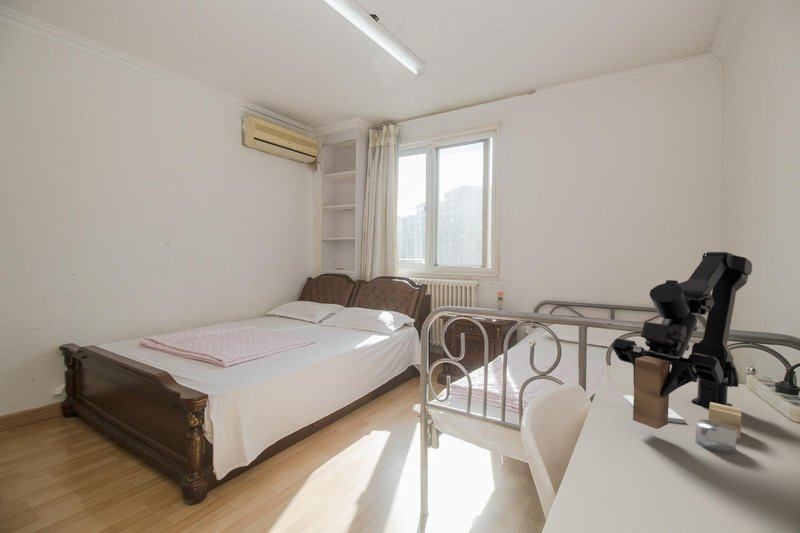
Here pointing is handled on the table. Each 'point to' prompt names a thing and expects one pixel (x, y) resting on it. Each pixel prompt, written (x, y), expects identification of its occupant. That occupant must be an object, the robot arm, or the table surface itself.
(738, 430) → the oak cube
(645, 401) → the walnut block
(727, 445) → the grey tin
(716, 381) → the robot arm
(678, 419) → the external hard drive
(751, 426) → the table surface
